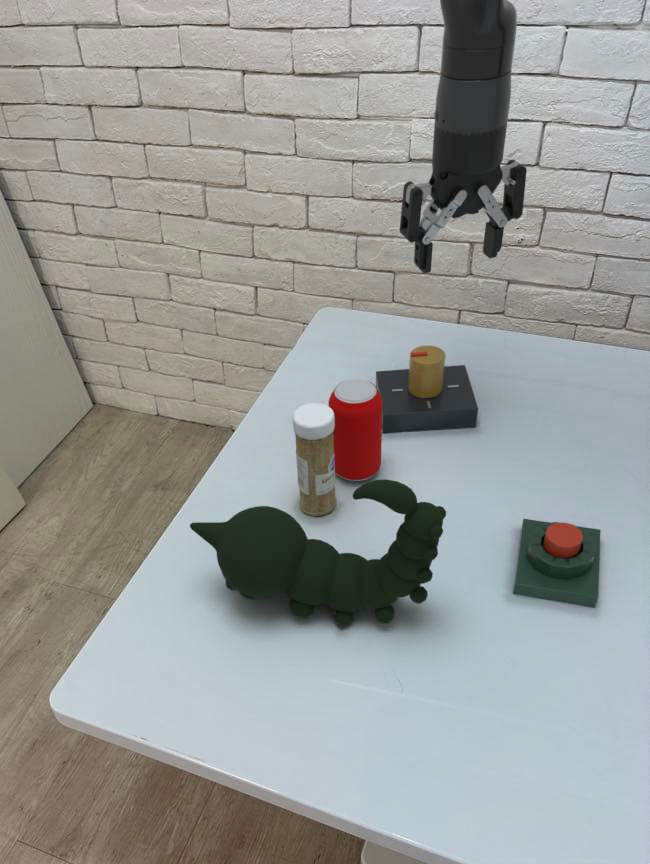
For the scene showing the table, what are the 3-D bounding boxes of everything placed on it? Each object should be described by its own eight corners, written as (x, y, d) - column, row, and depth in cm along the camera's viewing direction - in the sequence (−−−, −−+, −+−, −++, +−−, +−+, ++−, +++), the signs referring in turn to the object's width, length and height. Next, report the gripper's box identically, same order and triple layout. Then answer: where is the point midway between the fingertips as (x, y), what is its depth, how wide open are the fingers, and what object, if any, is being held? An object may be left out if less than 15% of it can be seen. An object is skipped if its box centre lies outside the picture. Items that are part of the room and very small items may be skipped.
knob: (439, 378, 107) (442, 342, 103) (444, 397, 104) (448, 360, 100) (406, 380, 107) (408, 344, 103) (410, 399, 104) (412, 363, 100)
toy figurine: (425, 593, 87) (207, 547, 92) (457, 460, 73) (199, 415, 78) (413, 662, 81) (180, 609, 86) (445, 531, 67) (165, 477, 72)
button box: (521, 529, 90) (525, 506, 88) (597, 540, 88) (604, 517, 85) (512, 594, 84) (517, 572, 81) (594, 608, 81) (602, 585, 79)
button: (544, 531, 85) (547, 519, 84) (580, 537, 84) (583, 525, 83) (542, 555, 83) (544, 543, 82) (579, 561, 82) (582, 549, 80)
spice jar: (336, 517, 94) (334, 425, 85) (297, 517, 95) (291, 426, 86) (336, 491, 98) (334, 400, 88) (299, 491, 98) (293, 401, 89)
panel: (462, 383, 111) (465, 363, 108) (475, 427, 104) (478, 407, 101) (375, 389, 112) (375, 370, 109) (382, 433, 105) (383, 413, 102)
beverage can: (379, 486, 97) (381, 405, 89) (328, 485, 99) (325, 405, 90) (381, 454, 102) (383, 374, 93) (332, 453, 103) (330, 374, 94)
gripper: (424, 141, 81) (415, 289, 93) (551, 115, 83) (527, 263, 94) (394, 120, 86) (389, 262, 98) (514, 95, 88) (495, 238, 100)
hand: (457, 262), depth 96 cm, fingers open, 8 cm apart
